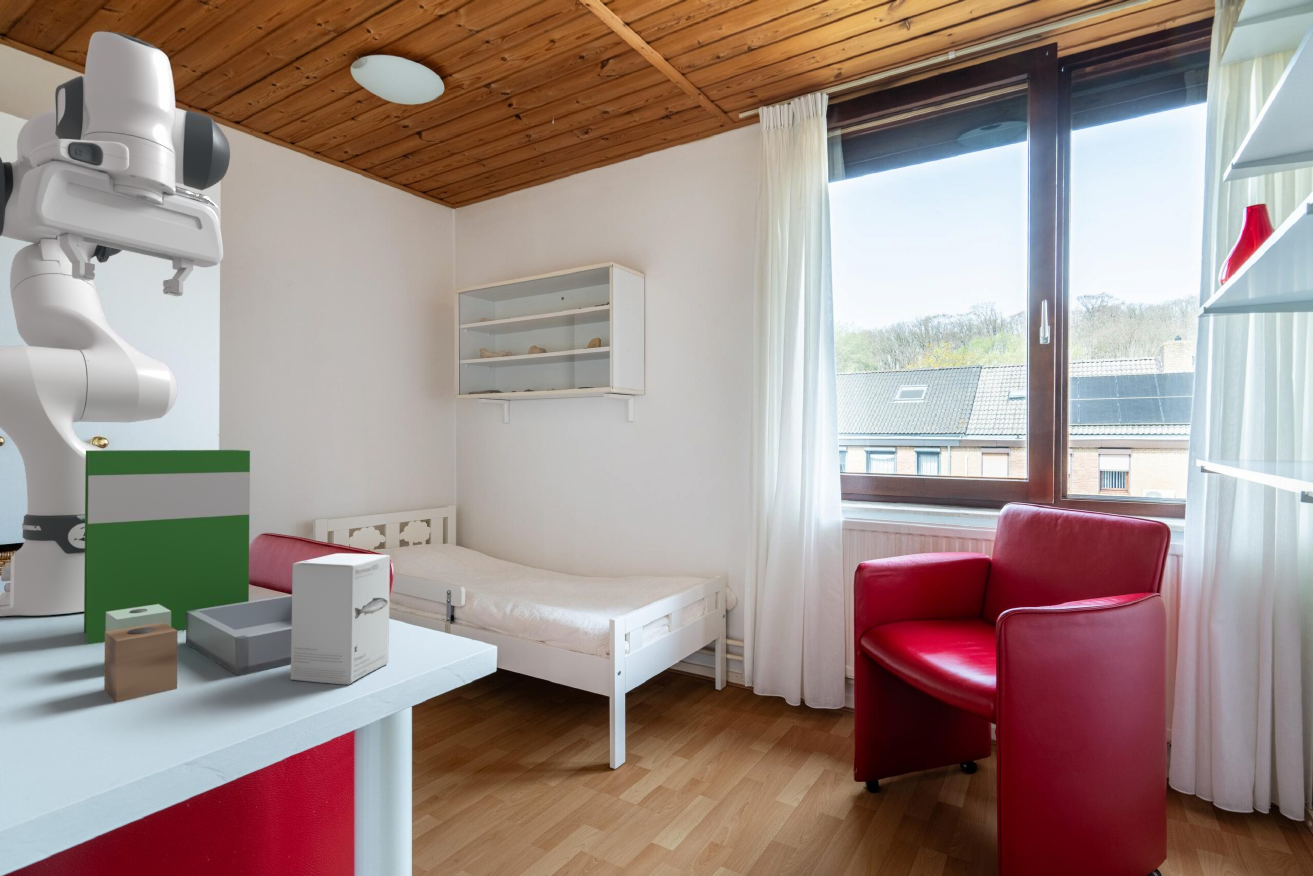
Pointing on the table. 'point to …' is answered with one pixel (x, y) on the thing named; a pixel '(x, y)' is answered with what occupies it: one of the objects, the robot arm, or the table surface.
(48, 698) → the table surface
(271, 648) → the tray
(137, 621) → the sage block
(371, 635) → the supplement box
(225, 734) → the table surface
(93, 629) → the hardback book
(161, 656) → the walnut block
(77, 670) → the table surface
